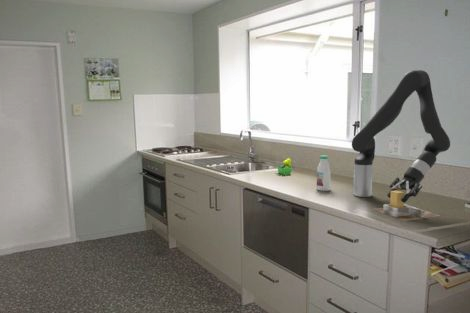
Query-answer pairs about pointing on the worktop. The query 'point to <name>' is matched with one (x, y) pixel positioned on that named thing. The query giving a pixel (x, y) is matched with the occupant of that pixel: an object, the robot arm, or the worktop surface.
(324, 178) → the milk bottle
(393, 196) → the block
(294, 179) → the worktop surface
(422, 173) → the robot arm
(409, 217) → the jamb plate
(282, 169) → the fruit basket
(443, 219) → the worktop surface
